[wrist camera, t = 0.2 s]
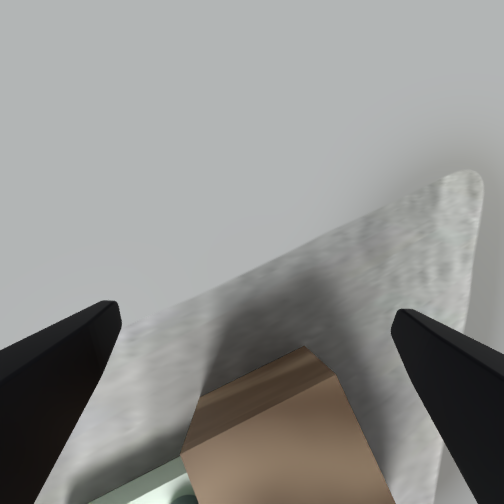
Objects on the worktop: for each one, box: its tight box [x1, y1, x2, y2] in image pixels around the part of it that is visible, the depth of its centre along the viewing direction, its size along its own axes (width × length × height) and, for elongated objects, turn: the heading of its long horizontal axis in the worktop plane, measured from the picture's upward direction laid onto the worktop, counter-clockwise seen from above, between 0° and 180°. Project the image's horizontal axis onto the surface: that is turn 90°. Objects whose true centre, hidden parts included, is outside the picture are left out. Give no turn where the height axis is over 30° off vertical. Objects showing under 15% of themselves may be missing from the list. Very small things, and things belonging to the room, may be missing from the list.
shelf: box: [180, 346, 396, 504], centre depth 17 cm, size 15×10×7 cm, turn 24°
